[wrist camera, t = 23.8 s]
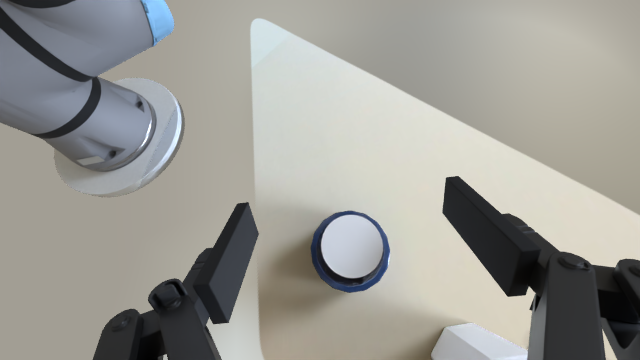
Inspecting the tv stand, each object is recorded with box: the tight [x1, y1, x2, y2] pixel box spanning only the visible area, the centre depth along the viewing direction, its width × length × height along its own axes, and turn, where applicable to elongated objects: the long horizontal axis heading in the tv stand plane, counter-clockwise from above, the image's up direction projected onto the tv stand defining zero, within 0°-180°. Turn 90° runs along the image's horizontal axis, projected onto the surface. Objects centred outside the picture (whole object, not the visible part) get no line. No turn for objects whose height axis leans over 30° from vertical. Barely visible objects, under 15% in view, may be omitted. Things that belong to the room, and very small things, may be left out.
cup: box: [311, 211, 390, 293], centre depth 29 cm, size 8×8×6 cm
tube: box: [321, 215, 383, 278], centre depth 24 cm, size 4×4×15 cm
